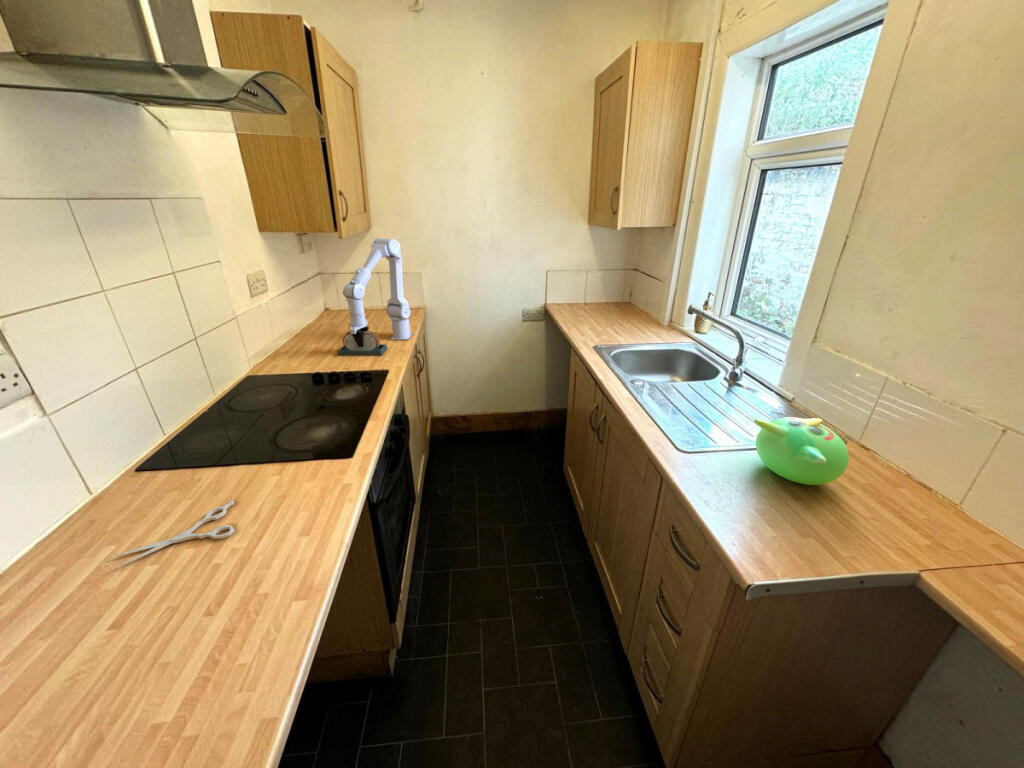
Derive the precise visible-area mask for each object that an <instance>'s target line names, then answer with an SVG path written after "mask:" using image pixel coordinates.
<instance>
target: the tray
mask: <svg viewBox="0 0 1024 768" xmlns="http://www.w3.org/2000/svg"><path fill="white" fill-rule="evenodd" d="M387 350H388V344H381V343H380V345H379V347H378V348H377V349H376V350H374V351H365V350H348V349H347V348H346V347H345V346H344V345H342V346H341V347H340V348H339V349H337V355H338V356H364V357H365V356H366V357H367V356H373V357H374V356H375V357H378V356H379V357H380V356H381V357H382V355H383V354H384V353H385V352H386V351H387Z"/></svg>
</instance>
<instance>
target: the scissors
mask: <svg viewBox="0 0 1024 768" xmlns="http://www.w3.org/2000/svg"><path fill="white" fill-rule="evenodd" d="M233 505H235V500H233V499H232V500H230V501H229V502H228V503H226V504H225V505H223V506H221V505H220V506H217V507H214V508H212V509H210V510H209V511H207V513H206V514H205V517H203V519H200V520H198V521H197V522H195V524H194V525H193V526H191V527H190V528H188V529H186V530H184V531H181V532H179V533H178V534H177V535H175V536H173V537H171V538H168V539H164V540H160V541H157V542H153V543H151V544H147V545H144V546H140V547H137V548H134V549H131V550H128V551H125V552H121V553H118V554H115V555H113V556H112V558H114V557H118V556H123V555H126V554H130V553H135V552H139V551H144V550H147V549H149V550H147V551H145V552H143V553H141V554H139V555H137V556H136V557H134V558H132V559H130V560H128V561H126V562H123V563H122V564H120V565H119V566H117V567H115V568H114V570H115V569H118V568H120V567H122V566H125V565H127V564H129V563H132V562H134V561H136V560H138V559H141V558H143V557H145V556H148V555H150V554H152V553H154V552H156V551H158V550H160V549H163V548H166V547H167V546H169V545H172V544H178V543H181V542H182V543H183V542H185V541H189V540H193V539H205V538H212V539H213V540H222V539H225V538H228V537H229V536H231V535H233V533H235V528H234V526H233V525H231V524H226V525H221V526H218V527H216V528H215V529H213V530H212V531H208V532H205V533H193V532H194V531H195V530H196V529H198V528H199V527H200V526H201V525H203V524H205V523H207V522H211V521H216V520H219V519H220V518H222V517H224V516H225V514H227V512H228V511H227V509H228V508H230V507H231V506H233ZM220 511H221V512H220ZM218 512H219V513H218ZM215 513H217V514H215ZM213 514H214V515H213ZM228 530H229V531H228ZM223 531H227V532H225V533H223V534H218V533H220V532H223Z"/></svg>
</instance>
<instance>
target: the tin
mask: <svg viewBox="0 0 1024 768" xmlns="http://www.w3.org/2000/svg"><path fill="white" fill-rule="evenodd" d="M342 344H343V346H345V347H346V348H347V349H348V350H365V351H374V350H376V349H377V348H378V347H379V345H380V344H381V339H380V337H379V335H378V334H377V333H375V332H374V331H371V330H368V331H365V333H364V346H363V347H358V345H357V343H356V341H355V339H354V337H353V336H352V335H351V334H350V330H349V331H347V332H346V333H345V334H344V335H343V337H342Z"/></svg>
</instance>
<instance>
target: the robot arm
mask: <svg viewBox="0 0 1024 768" xmlns="http://www.w3.org/2000/svg"><path fill="white" fill-rule="evenodd" d="M370 248H371V250H370V252H369V254H368V256H367V258H366V259H365V262H364V264H363V265H362V267H359V268H357V269H355V273H354V275H353V276H352V278H351V279H350V281H349V283H347V284H345V285H344V287H343V290H342V296H344V297H345V300H346V302H347V306H348V312H349V318H350V323H349V324H348V327H350V329H349V331H350V334H351V335H352V336H353V337H354V339H355V341H356V343H357V345H358V347H363V346H364V333H365V331H370V330H369V329H370V327H369V326H368V323H369V321H368V319H366V314H365V308H364V302H363V301H364V299H363V298H364V297H365V294H366V287H367V285H368V283H369V282H370V280H371V278H372V273H371V272H372V271H373V269H374V268H375V266H376V265H377V264H378V262H379V261H380V259H382V258H385V259H386V260H387V261H388V271H389V286H390V287H389V288H390V298H389V299H388V300H387V301H386V303H387V304H386V308H385V309H386V310H385V311H386V312H385V313H386V315H387V316H388V317H389V319H390V321H391V329H392V337H391V338H390V340H393V341H395V340H397V341H398V340H399V341H400V340H401V341H409V339H410V337H411V336H412V335H413V332H411V327H410V324H411V323H410V320H409V317H410V316H411V308H410V303H409V301H408V300H407V299H406V298H405V295H404V277H403V276H404V275H403V257H402V253H401V243H400V242H398V240H397V239H395V238H380V237H376V238H375V239H374V240H373V242H372V243H371V245H370Z"/></svg>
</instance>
